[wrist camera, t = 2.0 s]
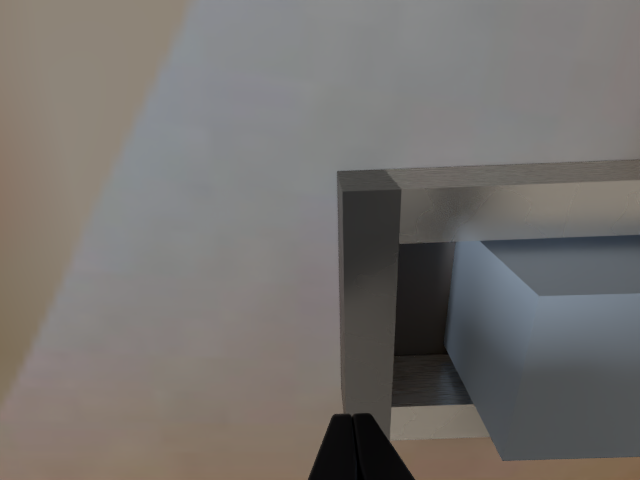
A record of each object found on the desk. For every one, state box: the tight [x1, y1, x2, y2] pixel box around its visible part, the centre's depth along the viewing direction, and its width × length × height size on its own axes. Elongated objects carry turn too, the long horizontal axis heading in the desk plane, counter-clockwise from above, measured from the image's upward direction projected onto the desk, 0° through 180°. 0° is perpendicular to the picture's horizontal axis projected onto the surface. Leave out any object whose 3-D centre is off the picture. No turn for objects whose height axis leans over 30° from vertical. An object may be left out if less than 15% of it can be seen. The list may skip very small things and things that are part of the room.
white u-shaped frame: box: [337, 160, 640, 441], centre depth 12 cm, size 16×9×2 cm, turn 92°
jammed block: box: [444, 235, 640, 461], centre depth 11 cm, size 7×5×5 cm
